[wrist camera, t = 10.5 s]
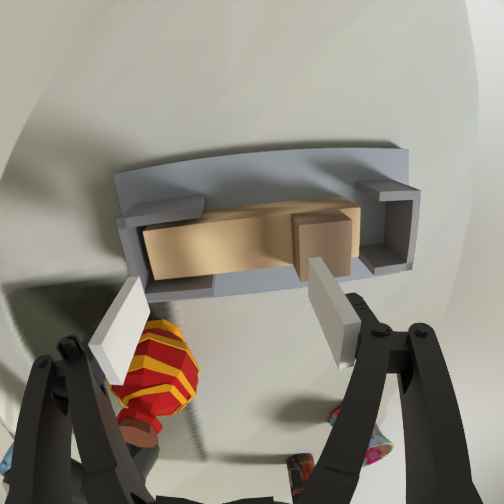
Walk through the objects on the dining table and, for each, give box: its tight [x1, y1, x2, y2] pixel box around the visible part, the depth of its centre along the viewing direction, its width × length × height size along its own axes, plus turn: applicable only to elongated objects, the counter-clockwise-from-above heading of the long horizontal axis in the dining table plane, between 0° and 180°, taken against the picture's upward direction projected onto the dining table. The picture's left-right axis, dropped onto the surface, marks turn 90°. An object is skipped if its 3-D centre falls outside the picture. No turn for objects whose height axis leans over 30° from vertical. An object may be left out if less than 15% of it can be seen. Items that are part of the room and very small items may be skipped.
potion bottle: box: [106, 319, 200, 448], centre depth 26 cm, size 10×10×15 cm
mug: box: [330, 408, 394, 467], centre depth 38 cm, size 12×9×11 cm
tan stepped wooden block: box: [143, 197, 361, 282], centre depth 23 cm, size 18×4×7 cm, turn 96°
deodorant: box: [286, 453, 315, 504], centre depth 43 cm, size 6×6×15 cm
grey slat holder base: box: [114, 147, 421, 303], centre depth 25 cm, size 29×14×6 cm, turn 95°
